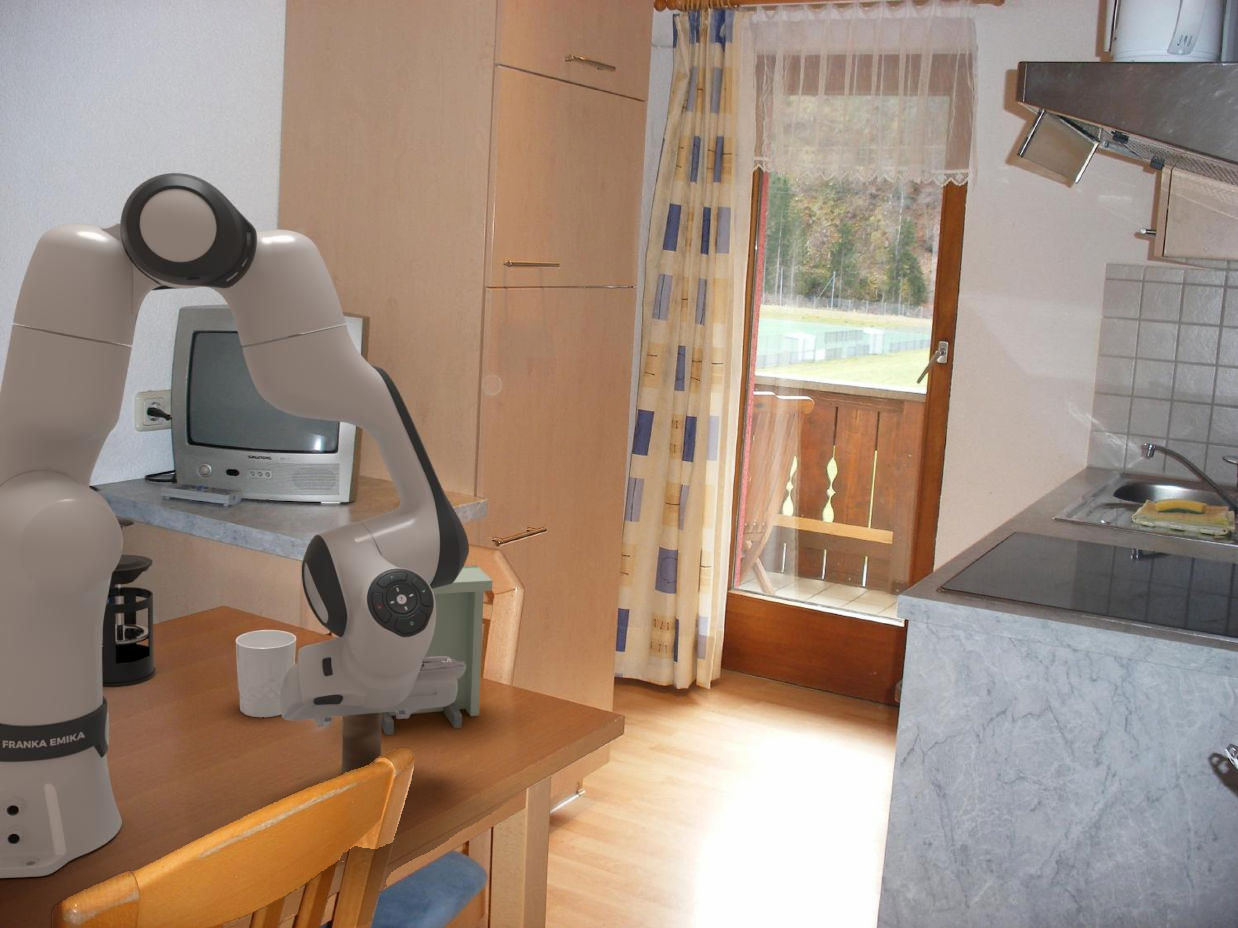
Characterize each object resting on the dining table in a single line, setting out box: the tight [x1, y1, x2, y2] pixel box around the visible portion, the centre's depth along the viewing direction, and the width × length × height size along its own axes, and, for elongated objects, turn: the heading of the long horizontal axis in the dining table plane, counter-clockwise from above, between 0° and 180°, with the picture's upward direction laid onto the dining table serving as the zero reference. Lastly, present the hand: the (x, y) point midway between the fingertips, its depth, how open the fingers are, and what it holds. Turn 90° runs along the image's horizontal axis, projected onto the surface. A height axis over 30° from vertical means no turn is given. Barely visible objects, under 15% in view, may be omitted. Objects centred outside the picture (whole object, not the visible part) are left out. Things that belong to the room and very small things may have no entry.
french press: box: [102, 518, 156, 688], centre depth 168 cm, size 12×9×23 cm
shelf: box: [381, 564, 493, 736], centre depth 158 cm, size 17×8×20 cm, turn 112°
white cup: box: [235, 629, 297, 718], centre depth 160 cm, size 8×8×10 cm
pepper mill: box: [341, 712, 382, 774], centre depth 142 cm, size 5×5×11 cm
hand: (362, 716), depth 142 cm, fingers open, 8 cm apart
